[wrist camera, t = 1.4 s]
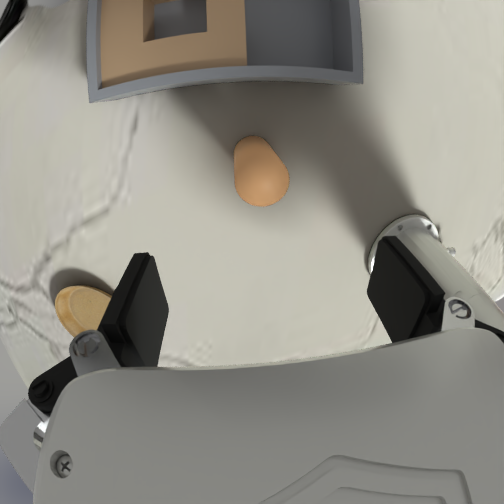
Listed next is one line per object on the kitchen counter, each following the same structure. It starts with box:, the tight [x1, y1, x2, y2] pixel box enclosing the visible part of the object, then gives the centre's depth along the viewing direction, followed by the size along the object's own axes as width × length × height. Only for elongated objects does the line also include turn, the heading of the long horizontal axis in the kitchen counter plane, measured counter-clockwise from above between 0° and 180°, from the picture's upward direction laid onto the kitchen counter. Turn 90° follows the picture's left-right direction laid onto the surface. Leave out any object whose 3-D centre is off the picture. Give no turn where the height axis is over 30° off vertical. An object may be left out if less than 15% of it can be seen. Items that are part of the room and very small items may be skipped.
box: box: [86, 0, 363, 103], centre depth 17 cm, size 24×15×6 cm, turn 92°
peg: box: [234, 136, 289, 206], centre depth 24 cm, size 4×4×10 cm
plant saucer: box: [55, 285, 112, 338], centre depth 38 cm, size 15×15×3 cm
